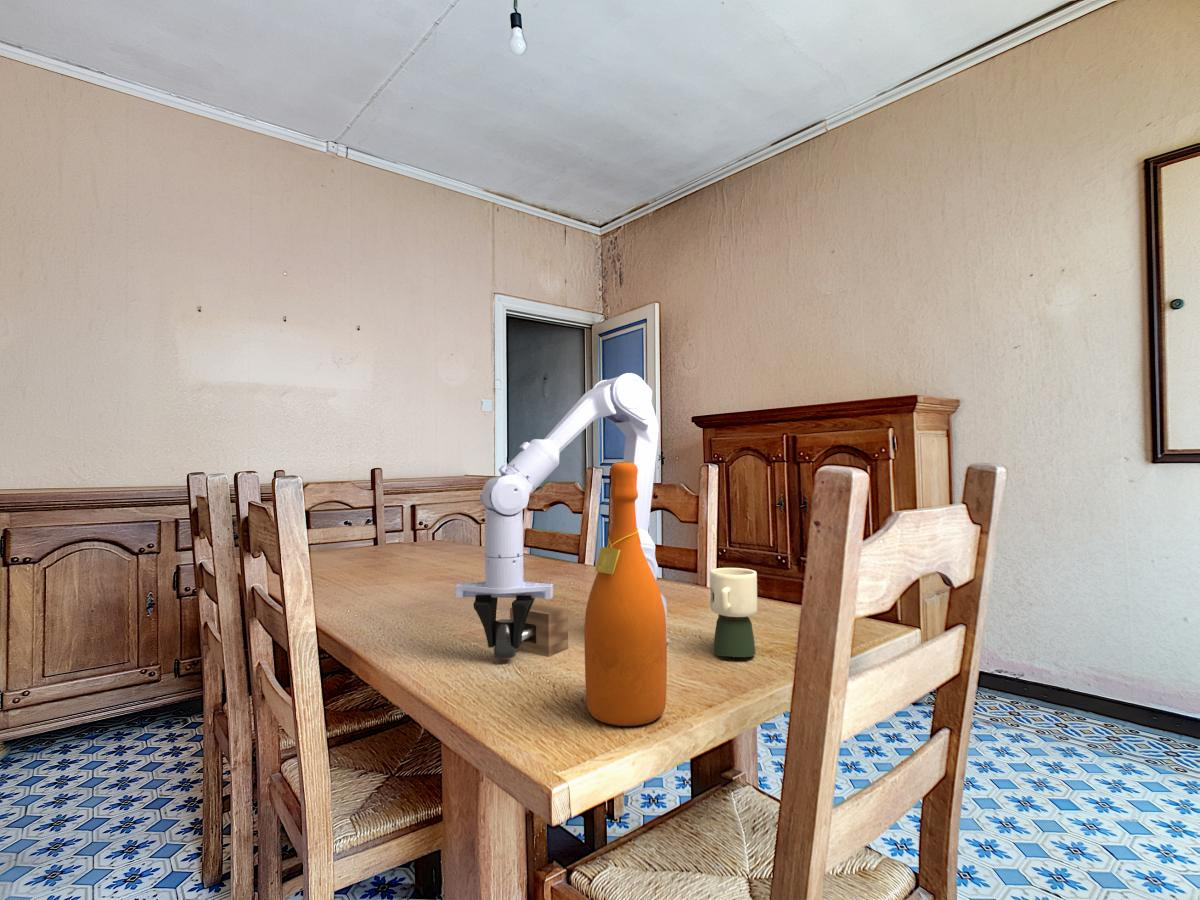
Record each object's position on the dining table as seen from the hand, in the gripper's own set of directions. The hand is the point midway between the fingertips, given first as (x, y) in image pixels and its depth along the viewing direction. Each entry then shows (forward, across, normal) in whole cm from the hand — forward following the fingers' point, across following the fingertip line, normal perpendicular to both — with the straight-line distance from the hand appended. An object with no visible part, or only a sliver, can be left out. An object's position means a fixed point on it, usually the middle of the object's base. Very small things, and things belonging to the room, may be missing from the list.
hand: (504, 645), depth 91 cm
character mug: (+3, -35, -5) cm, 35 cm away
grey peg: (+1, -2, -4) cm, 5 cm away
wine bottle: (+3, -19, +17) cm, 26 cm away
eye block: (+2, -4, -7) cm, 8 cm away
